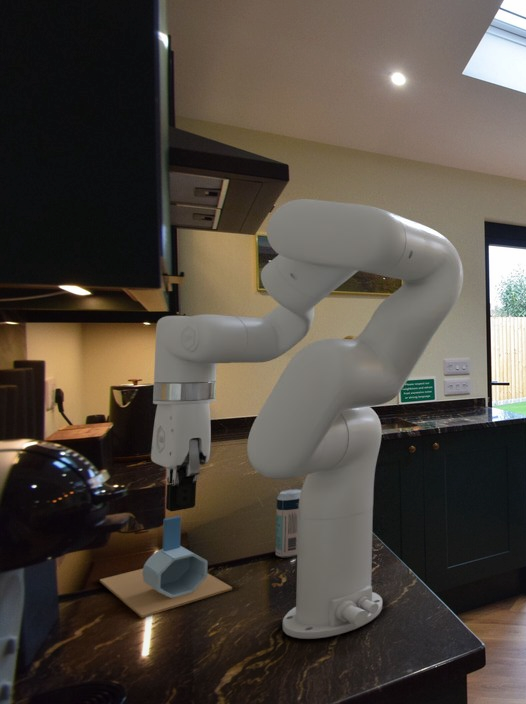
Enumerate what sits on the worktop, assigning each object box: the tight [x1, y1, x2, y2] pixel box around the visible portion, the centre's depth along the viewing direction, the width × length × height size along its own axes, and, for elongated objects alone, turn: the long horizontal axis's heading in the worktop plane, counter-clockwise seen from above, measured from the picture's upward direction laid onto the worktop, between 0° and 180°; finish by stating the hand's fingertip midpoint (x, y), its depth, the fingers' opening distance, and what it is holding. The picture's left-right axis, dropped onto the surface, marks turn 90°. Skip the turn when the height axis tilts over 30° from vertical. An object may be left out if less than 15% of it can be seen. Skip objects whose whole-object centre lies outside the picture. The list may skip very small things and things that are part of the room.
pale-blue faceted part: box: [142, 515, 209, 598], centre depth 84 cm, size 7×6×11 cm
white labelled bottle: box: [275, 488, 302, 559], centre depth 101 cm, size 5×5×12 cm
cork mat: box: [99, 568, 233, 619], centre depth 86 cm, size 22×11×1 cm, turn 57°
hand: (180, 508), depth 83 cm, fingers closed
